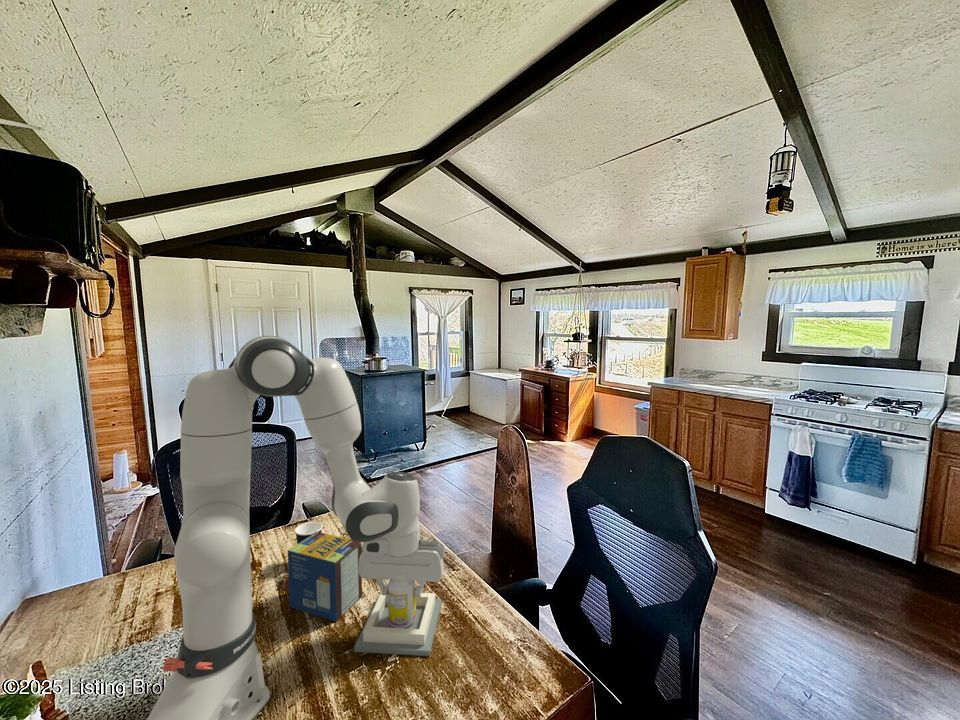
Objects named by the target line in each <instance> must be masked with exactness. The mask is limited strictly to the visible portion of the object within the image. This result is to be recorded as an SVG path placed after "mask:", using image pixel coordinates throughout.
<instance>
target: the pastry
mask: <svg viewBox="0 0 960 720" xmlns="http://www.w3.org/2000/svg"><path fill="white" fill-rule="evenodd" d="M275 579H276V580H275V582H276V583H280V584H281V585H282V586H281V588H280V590H283V591H284V592H289V577H288V573H286V572H284V573H281V574H279V575H278V576H276V578H275Z"/></svg>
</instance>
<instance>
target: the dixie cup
mask: <svg viewBox="0 0 960 720" xmlns="http://www.w3.org/2000/svg"><path fill="white" fill-rule="evenodd" d="M323 526H324V525H323V524H322V523H321V522H318V521H310V522H309V521H308V522H304V523H302V524H299V525H298V526H297V527H295V529H294V533H295V536H296V537H295V538H296V544H298V543H299V542H301V541H303V540H304V539H306V538H307V537H309V536H310V535H312V534H313V533H315V532H320V533H322V529H323Z"/></svg>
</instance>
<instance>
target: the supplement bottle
mask: <svg viewBox="0 0 960 720" xmlns="http://www.w3.org/2000/svg"><path fill="white" fill-rule="evenodd" d="M394 579H395V580H390V579H389V581H388V584H387V585H388V620H389V624H390V625H391V626H392V627H394V628H407V627H409V626H410V625H412V624H413V623H414V621H415V619H416V597H414V595H415V593H414V590H415V588H416V586H417V582H416V581H413V580H405V576H404V575H395V578H394Z"/></svg>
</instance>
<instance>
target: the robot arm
mask: <svg viewBox="0 0 960 720" xmlns="http://www.w3.org/2000/svg"><path fill="white" fill-rule="evenodd" d="M186 389H187V390H186V392H185V397H184V402H183V406H182V412H181V413H182V415H181V423H180V460H179V461H180V462H179V463H180V468H179V469H180V471H179V472H180V474H179V476H180V481H181V489H182V501H183V502H182V505H183V506H182V507H183V511H182V512H183V514H182V521H181V526H180V529H179V534H178V536H177V540H176V543H175V547H174V563H175V573H176V578H177V585H178V590H179V594H180V600H181V610H182V629H183V630H182V632H183V635H182V638H181V642H180V645H179V649H178V654H177V657H174V656H173V657H172V656H170V657H168V658H167V659H166V660H164V664H163V665H162V671H163V672H172V674H171V676H170V677H169V679H168V681H167V683H166V684H165V686H164V688H163V689H162V692H161V694H160V696H159V697H158V699H157V701H156V703H155V704H154V706H153V708H152V710H151V711H150V713H149V715H148V716H147V718H146V720H254V718H255V716H256V715H257V714H258V713H259V712H260V711H261V710H262V708H263V707H264V706H266V704H267V703H268V702H269V700H270V698H271V693H270V689H269V688H268V686H267V685H266V684H265V678H264V677H265V676H264V672H263V670H264V669H263V664H262V663H263V662H262V657H261V654H260V652H259V649H258V647H257V644H256V640H255V638H256V634H257V631H256V629H257V622H256V616H255V614H254V612H253V597H252V596H253V594H252V591H253V589H252V565H251V562H252V561H251V560H252V559H251V532H250V531H251V530H250V497H251V496H250V495H251V494H250V493H251V474H252V473H251V472H252V446H253V445H252V439H253V435H252V434H253V433H252V432H253V409H254V405H255V403H256V400H257V399H258V398H259V396H263V397H288V396H289V397H291V396H294V397H295V399H296V401H297V403H298V405H299V408H300V411H301V415H302V417H303V420H304V423H305V426H306V428H307V431H308V432H309V435H310V436H311V438H312V440H313V442H314V443H315V445H316V447H318V448H319V449H320V451H321V452H322V453H323V455H324V457H325V460H326V463H327V466H328V470H329V474H330V477H331V480H332V481H331V482H332V494H331V509H332V512H333V513H334V515H335V516H336V517H337V519H338V520H339V522H340V523H341V525H342V527H343V529H344V530H345V532H346V534H347V535H348V537H349V539H352V540H355V541H357V542H361V543H362V544H361V555H360V558H359V567H358V573H359V575H360V577H361V578H362V579H369V580H370V579H371V580H376V583H377V585H378V587H379V588H380V590H381V591H380V594H381V595H388V584H387V583H386V581H385V580H389V581H390V580H395V579H394V578H395V575H404V576H405V580H413V581H417V582H418V584H419V585H416V588H415V590H414V593H415V595H414V597H421V594H422V593H423V588H424V586H425V584H426V582H438V583H439V582H440V581H441V580H442V578H443V576H444V571H445V570H444V569H445V567H444V557H445V546H444V544H443V543H441V542H439V540H436V539H435V540H428V539H421V522H420V520H419V513H420V510H421V499H420V489H419V483H418V480H417V478H416V477H415V476H413V475H411V473H408V472H404V471H391V472H388V473H386V474H385V475H384V477H383V478H382V479H381V480H380V481H378V483H377V484H376V485H374V486H372V487H371V486H370V485H369V482H367V481H366V480H365V479H364V478H363V477H362V476H361V474H360V470H359V467H358V464H357V463H358V462H357V459H356V456H355V451H354V446H353V445H354V442H355V441H356V440H357V439H358V438H359V436H360V434H361V432H362V418H361V413H360V407H359V404H358V401H357V398H356V395H355V392H354V390H353V389H354V388H353V386H352V384H351V382H350V379H349V378H348V376H347V373H346V371H345V370H344V368H343V366H342V364H341V363H340V362H339V361H338V360H336V359H334V358H331V357H322V356H321V357H316V358H312V359H310V358H308V357H307V355H306V354H303V352H302V351H301V350H300V349H298V348H297V347H296V346H295V345H294V344H292V342H290V341H288V340H286V339H285V338H283V337H280V336H277V335H261V336H257V337H254V338H252V339H251V340H249V341H248V342H246V343H245V344H244V345H243V346H242V347H241V348H240V350H239V351H238V353H237V354H236V355H235V357H234V359H233V360H232V362H231V363H229V365H228V368H224V369H223V368H222V369H211V370H207V371H204V372H201V373H198V374H197V375H195V376H193V377H192V379H191V380H190V381H189V383H188V384H187V388H186Z"/></svg>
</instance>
